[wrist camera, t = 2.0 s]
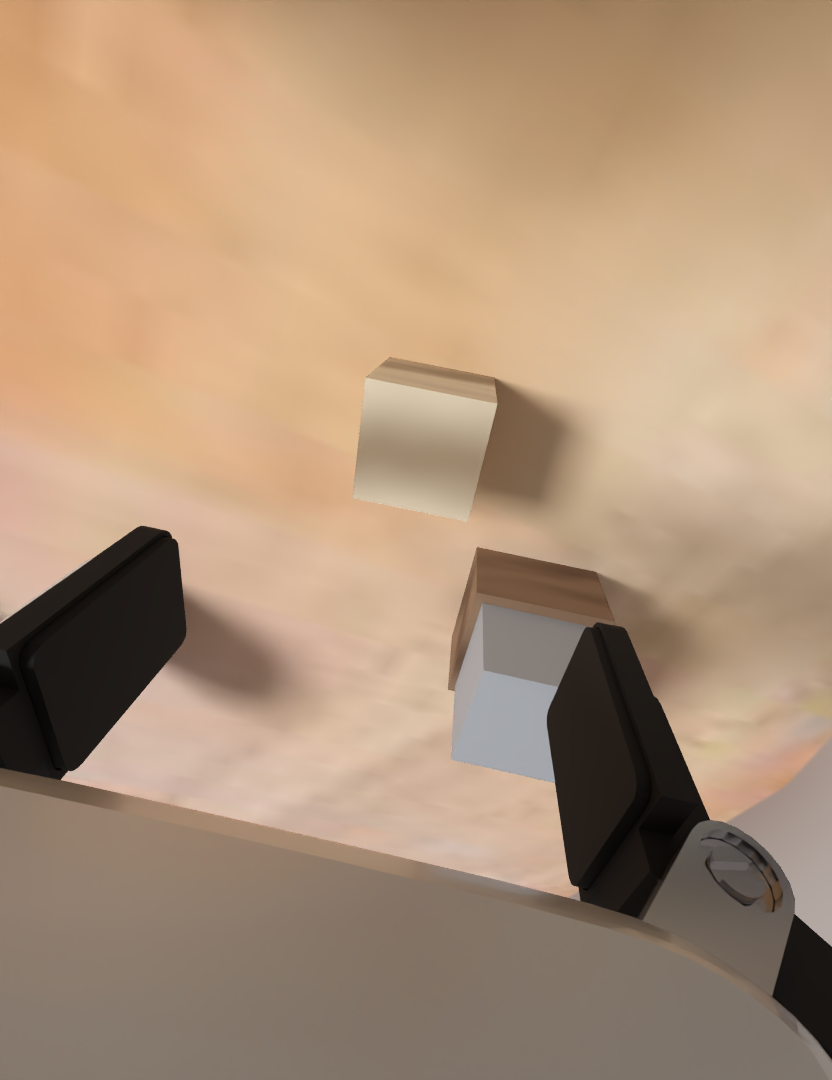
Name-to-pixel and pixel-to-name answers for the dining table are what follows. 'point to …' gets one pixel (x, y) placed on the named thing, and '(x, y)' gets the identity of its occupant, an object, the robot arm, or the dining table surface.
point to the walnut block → (525, 596)
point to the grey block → (510, 690)
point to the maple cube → (423, 437)
